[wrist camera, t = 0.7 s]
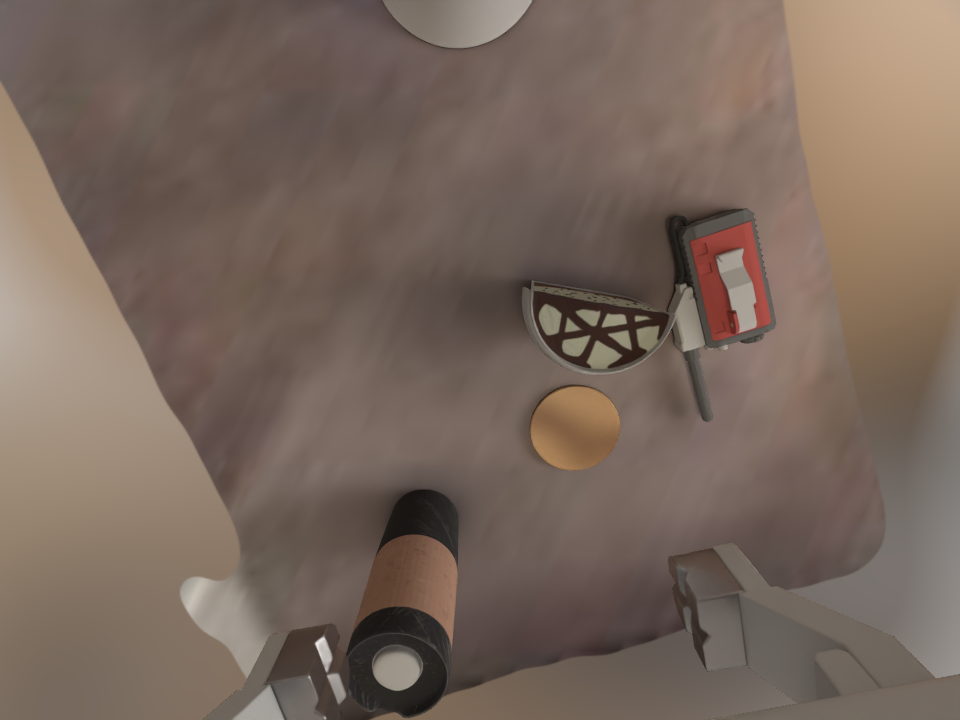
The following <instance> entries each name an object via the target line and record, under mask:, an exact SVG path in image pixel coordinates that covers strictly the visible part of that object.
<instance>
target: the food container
mask: <svg viewBox="0 0 960 720" xmlns="http://www.w3.org/2000/svg"><path fill="white" fill-rule="evenodd" d="M522 311H523V316H524V321H525V324H526V327H527V329H528V332H529V334H530V336H531V337H532V339H533V341H534V343H535V344H536V345H537V346H538V348H539V349H540V350H541V351H542V352H543V353H544V354H545V355H546V356H547V357H548V358H549V359H551V360H552V361H554V362H555V363H557V364H559V365H560V366H562V367H565V368H567V369H569V370H572V371H576V372H580V373H584V374H591V375H607V374H613V373H618V372H622V371H624V370H627V369H630V368H632V367H634V366H636V365H638V364H639V363H641V362H643V361H644V360H645V359H647V358H648V357H649V356H651V355H652V354H653V353H654V352H655V351H656V350H657V349H658V348H659V347H660V346H661V344H662V343H663V342H664V340H665V339H666V338H667V336H668V334H669V332H670V330H671V329H672V327H673V324H674V321H675V319H676V316H677V315H676V314H675V313H673V312H672V313H669V312H666V311H664V310H661V309H658V308H656V307H653V306H651V305H648V304H646V303H643V302H641V301H638V300H635V299H633V298H630V297H627V296H621V295H616V294H610V293H604V292H598V291H592V290H587V289H581V288H575V287H569V286H563V285H558V284H552V283H546V282H540V281H534V280H532V283H531V290H530V289H528V288H526V287H523V291H522Z"/></svg>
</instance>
